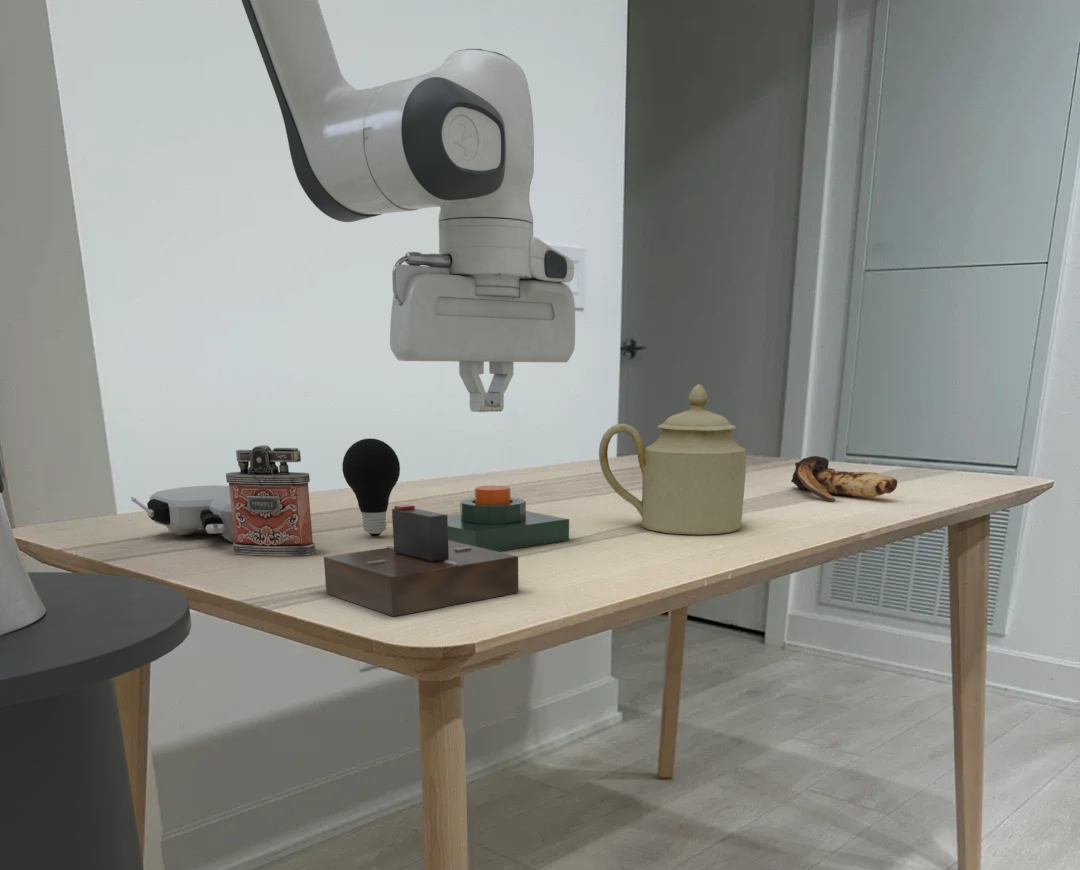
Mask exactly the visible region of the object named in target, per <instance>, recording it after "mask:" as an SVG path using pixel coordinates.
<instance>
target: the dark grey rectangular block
mask: <svg viewBox="0 0 1080 870" xmlns="http://www.w3.org/2000/svg"><path fill="white" fill-rule="evenodd" d="M415 507H416V506H415V505H413V504H410V503H409V504H398V505H394V508H392V509H391V521H392V539H393V541H392V542H393V547H394V552H397V553H400V554H404V555H408V556H412V557H416V558H420V559H424V560H427V561H431V562H436V561H442V560H448V559H449V549H448V518H447V516H448V514H444V513H440V512H435V511H430V510H425V509H419V508H415Z"/></svg>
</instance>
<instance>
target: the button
mask: <svg viewBox="0 0 1080 870" xmlns="http://www.w3.org/2000/svg"><path fill="white" fill-rule="evenodd" d="M511 494H512V493H511V487H510V486H506V485H496V484H495V485H492V484H491V485H479V486H475V487H474V498H475V503H477V504H489V505H490V504H508V503H511V498H512V497H511Z"/></svg>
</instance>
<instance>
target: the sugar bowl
mask: <svg viewBox="0 0 1080 870" xmlns="http://www.w3.org/2000/svg"><path fill="white" fill-rule="evenodd" d="M688 401H689V404H690V409H688V410H685V411H682V412H678V413H676V414H673V415H670V416H669V417H668V418H667V419H665V421H664V422H663V423H661V424H659V425H657V426H656V427H657V428H659V429H661V431H660V434H659V436H658V438H657V439H656V440H655V441H654V442H653V443H652V444H650V445H648V446H645V443H644V440H643V438H642V435H641V434H640V432H639V431H638V430H637V428H635V427H634V426H633V425H630V424H628V423H617V424H615V425H612V426H611V427H609V428H608V429H607V430H606V431H605V432H604V434H603V435H602V438H601V440H600V442H599V448H598V459H599V465H600V468H601V471H602V475H603V476H604V478H605V480H606V482H607V483H608V484H609V486H610V487H611V488H612V490H613V491H614V492H615V493H616V494H617V495H618V496H620V497H621V498H622V499H623V500H624V501H626V502H628V503H629V504H630V505H632V506H633V507H634V508H635V509H636V510H637V513H638V514H639V515H640V516H641V526H642V527H643V528H644V529H647V530H649V531H653V532H659V533H666V534H677V535H690V536H691V535H693V536H696V535H697V536H700V535H721V534H728V533H729V534H730V533H733V532H736V531H739V530H740V529H741V527H742V519H743V507H744V499H745V498H744V496H745V484H746V472H747V471H746V468H747V467H746V466H747V448H744V447H742V446H741V445H739V444H738V442H736V440H735V439H734V437H733V431H732V430H735V429H737V427H736V425H734V424H731V423H730V421H729V420H728V419H727V418H726V417H725V416H723V415H721V414H718V413H714V412H712V411H709V410H707V409H705V408H704V407H705V405H706V404H707V402H708V393H707V391H706V389H705V388H704V386H703V385H702V384H700V383H698V384H697V385H695V386H694V387H693V388H692V390H691V391H690V393H689V396H688ZM620 433H625V434H628V435H629V436H630V437H631V439H632V441H633V442H634V445H635V449H636V453H637V460H638V465H639V469H640V472H641V476H642V487H641V488H642V490H641V493H642V495H641V500H640V499H638V498H637V497H636V496H635V495H633V494H632V493H631V492H629V491H628V490H627V489H626V488H625V487H624V486H622V484H620V482H619V481H618V480H617V479H616V477H615V476H614V474H613V471H612V470H611V467H610V463H609V458H608V456H609V455H608V451H609V444H610V442H611V440H612V438H613V436H614V435H616V434H620Z"/></svg>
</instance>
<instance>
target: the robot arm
mask: <svg viewBox="0 0 1080 870" xmlns="http://www.w3.org/2000/svg"><path fill="white" fill-rule="evenodd" d="M241 3H242V6H243V8H244V11H245V14H246V17H247V20H248V22H249V25H250V28H251V31H252V33H253V36H254V39H255V41H256V44H257V47H258V49H259V50H258V51H259V52H260V55H261V58H262V61H263V63H264V67H265V70H266V72H267V74H268V77H269V80H270V83H271V86H272V88H273V90H274V95H275V97H276V100H277V102H278V103H277V104H278V106H279V108H280V112H281V115H282V119H283V123H284V128H285V133H286V136H287V138H286V139H287V143H288V148H289V154H290V158H291V163H292V166H293V170H294V172H295V175H296V176H295V177H296V178H297V181H298V182H299V185H300V186H301V188H302V190H303V192H304V193H305V194H306V196H307V197H308V199H309V200H310V201H311V203H312V204H313V205H314V206H315V207H316V208H317V209H318V210H319V211H320V212H321V213H322V214H324V215H325V216H327V217H328V218H331V219H333V220H335V221H337V222H341V223H353V222H359V221H362V220H366V219H370V218H373V217H377V216H381V215H383V214H393V213H403V212H413V211H418V210H420V209H421V210H422V209H430V208H438V207H439V208H440V209H439V213H438V253H422V252H419V251H409V252H407V251H406V253H405V254H404V255H403V256H402V257H400V258H399V259H397V260H396V262H395V264H394V265H393V268H392V273H391V274H392V275H391V281H392V294H393V296H392V304H391V312H390V325H389V346H390V348H389V349H390V350H391V352H392V354H393V355H394V357H395V358H396V360H397V361H401V362H458V370H459V371H458V372H459V376H460V378H461V381H462V383H463V384H464V386H465V389H466V390H467V393H469V409H470V411H471V412H474V413H489V412H491V413H493V412H495V413H496V412H502V411H503V410H504V408H505V406H504V404H505V403H504V402H505V397H504V396H505V393H506V391H507V389H508V387H509V384H510V382H511V380H512V378H513V377H514V363H568V362H569V360H570V359H571V357H572V355H573V353H574V351H575V346H576V304H575V297H574V294H573V292H572V290H571V288H570V287H569V286H568V285H567V284H566V283H570V282H572V280H573V279H574V275H575V264H574V261H573V259H572V258H571V257H569V256H567V255H566V254H564V253H562V252H560V251H559V250H557V249H555V248H553V247H552V246H551V245H549V244H547V243H545V241H543V240H541V239H540V238H538V237H536V236H534V217H533V212H532V208H531V204H530V202H531V201H530V190H531V185H532V180H533V178H534V171H535V170H534V169H535V137H534V117H533V105H532V99H531V93H530V88H529V83H528V79H527V76H526V73H525V71H524V70H523V68H522V67H521V66H520V65H519V63H517V62H515V61H514V60H513V59H512V58H510V57H509V56H506V55H505V54H503V53H500V52H497V51H491V50H486V49H482V48H465V49H464V48H463V49H458V50H455V51H453V52H452V53H450V54H448V55H447V57H446V58H444V62H443V63H442V64H441V65H439V66H438V67H436V68H434V69H432V70H430V71H428V72H426V73H423V74H420V75H416V76H413V77H410V78H405V79H400V80H396V81H391V82H388V83H385V84H383V85H379V86H373V87H369V88H363V89H357V88H355V87H354V86H353V85H352V84H350V83H349V82H348V81H347V80H346V78H345V77H344V76H343V74H342V71H341V68H340V66H339V63H338V60H337V57H336V54H335V50H334V47H333V44H332V40H331V38H330V34H329V31H328V28H327V25H326V22H325V18H324V15H323V12H322V9H321V6H320V2H319V0H241ZM403 263H405V264H403ZM485 362H486V363H487V362H488V368H489V369H488V371H489V375H493V376H492V378H491V381H490V384H489V386H488V389H487V391H486V389H485V386H484V384H483V382H482V380H481V377H480V375H484V373H485ZM4 480H5V471H4V466H3V460H2V453H1V452H0V636H1V635H3V634H6V633H9V632H12V631H14V630H17V629H20V628H23V627H25V626H27V625H30V624H32V623H34V622H35V621H37V620H39V619H40V618H41V617H42V616H43V615H44V614H45V612H46V609H45V607H44V605H43V603H42V601H41V600H40V598H39V596H38V594H37V592H36V590H35V588H34V586H33V583H32V581H31V579H30V577H29V574H28V570H27V568H26V566H25V563H24V559H23V557H22V555H21V552H20V549H19V547H18V544H17V540H16V538H15V534H14V531H13V529H12V525H11V523H10V519H9V516H8V512H7V509H6V505H5V501H4V498H3V494H2V493H3V492H4V491H5V485H4Z"/></svg>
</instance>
